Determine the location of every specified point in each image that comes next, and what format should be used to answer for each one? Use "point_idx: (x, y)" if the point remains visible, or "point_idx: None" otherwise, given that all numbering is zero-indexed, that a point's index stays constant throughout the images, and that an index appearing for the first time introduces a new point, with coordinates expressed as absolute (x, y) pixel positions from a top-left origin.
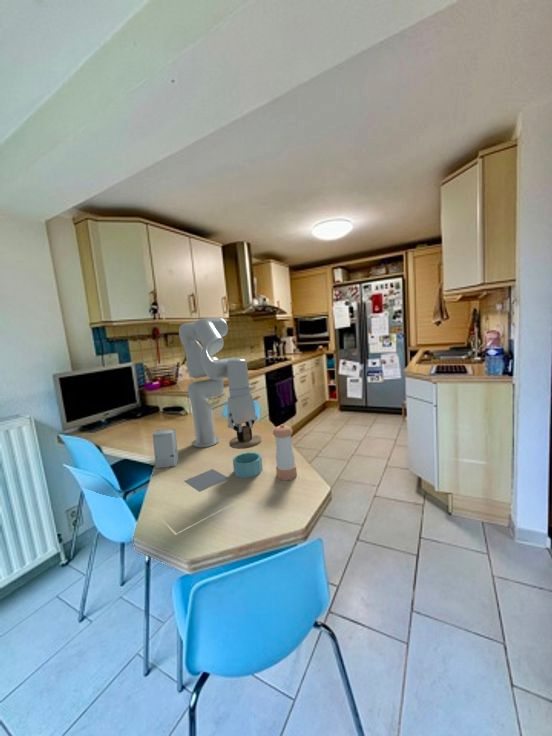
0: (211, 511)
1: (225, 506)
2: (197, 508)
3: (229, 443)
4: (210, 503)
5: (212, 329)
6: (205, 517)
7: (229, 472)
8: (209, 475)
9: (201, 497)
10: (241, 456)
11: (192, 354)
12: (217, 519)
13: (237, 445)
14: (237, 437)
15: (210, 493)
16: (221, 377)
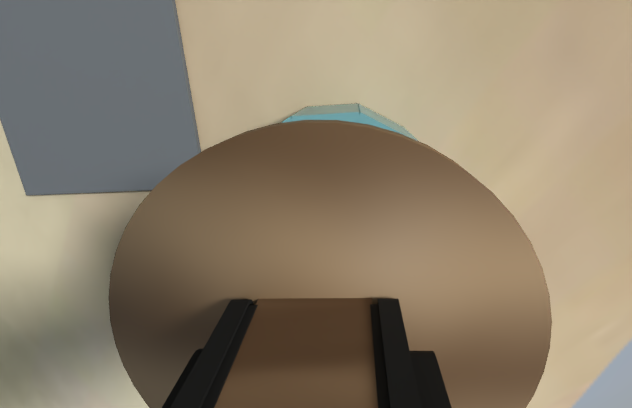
0: (50, 354)
1: (104, 366)
2: (4, 299)
3: (113, 267)
4: (58, 308)
5: None
6: (23, 366)
7: (245, 106)
8: (115, 51)
9: (32, 238)
10: None
11: None
12: (58, 402)
13: (161, 399)
14: (187, 371)
15: (76, 239)
16: None
